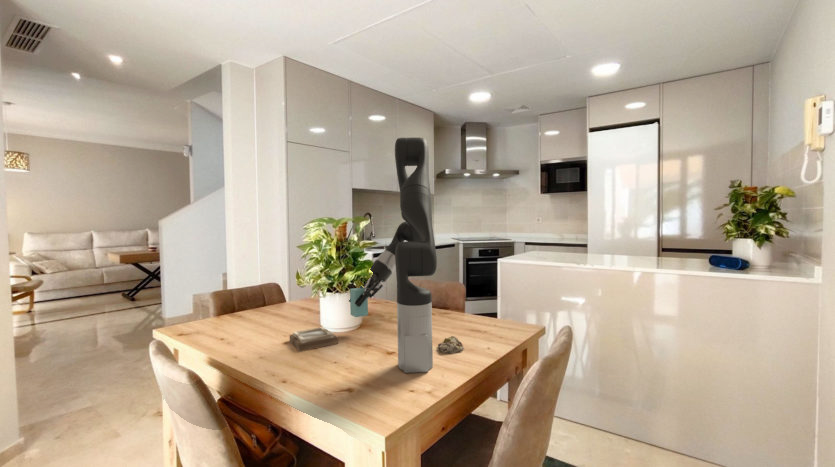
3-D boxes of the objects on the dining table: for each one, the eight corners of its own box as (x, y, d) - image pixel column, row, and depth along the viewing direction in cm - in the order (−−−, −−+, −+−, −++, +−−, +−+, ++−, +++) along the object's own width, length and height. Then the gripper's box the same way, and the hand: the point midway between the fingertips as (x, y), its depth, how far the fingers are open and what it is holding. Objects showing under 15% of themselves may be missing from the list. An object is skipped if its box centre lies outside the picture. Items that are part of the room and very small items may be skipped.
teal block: (368, 315, 130) (367, 289, 129) (355, 317, 127) (355, 290, 127) (362, 312, 133) (361, 287, 133) (350, 314, 131) (349, 288, 131)
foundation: (337, 343, 120) (337, 334, 120) (299, 351, 114) (299, 341, 114) (325, 334, 130) (324, 325, 130) (289, 341, 124) (289, 331, 124)
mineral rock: (462, 348, 108) (436, 338, 110) (458, 362, 108) (432, 352, 111) (469, 338, 118) (445, 329, 121) (465, 351, 119) (441, 342, 121)
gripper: (368, 257, 140) (338, 294, 134) (387, 260, 128) (354, 300, 122) (381, 271, 143) (352, 307, 137) (400, 274, 131) (369, 314, 125)
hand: (353, 303), depth 129 cm, fingers closed on teal block, 4 cm apart
